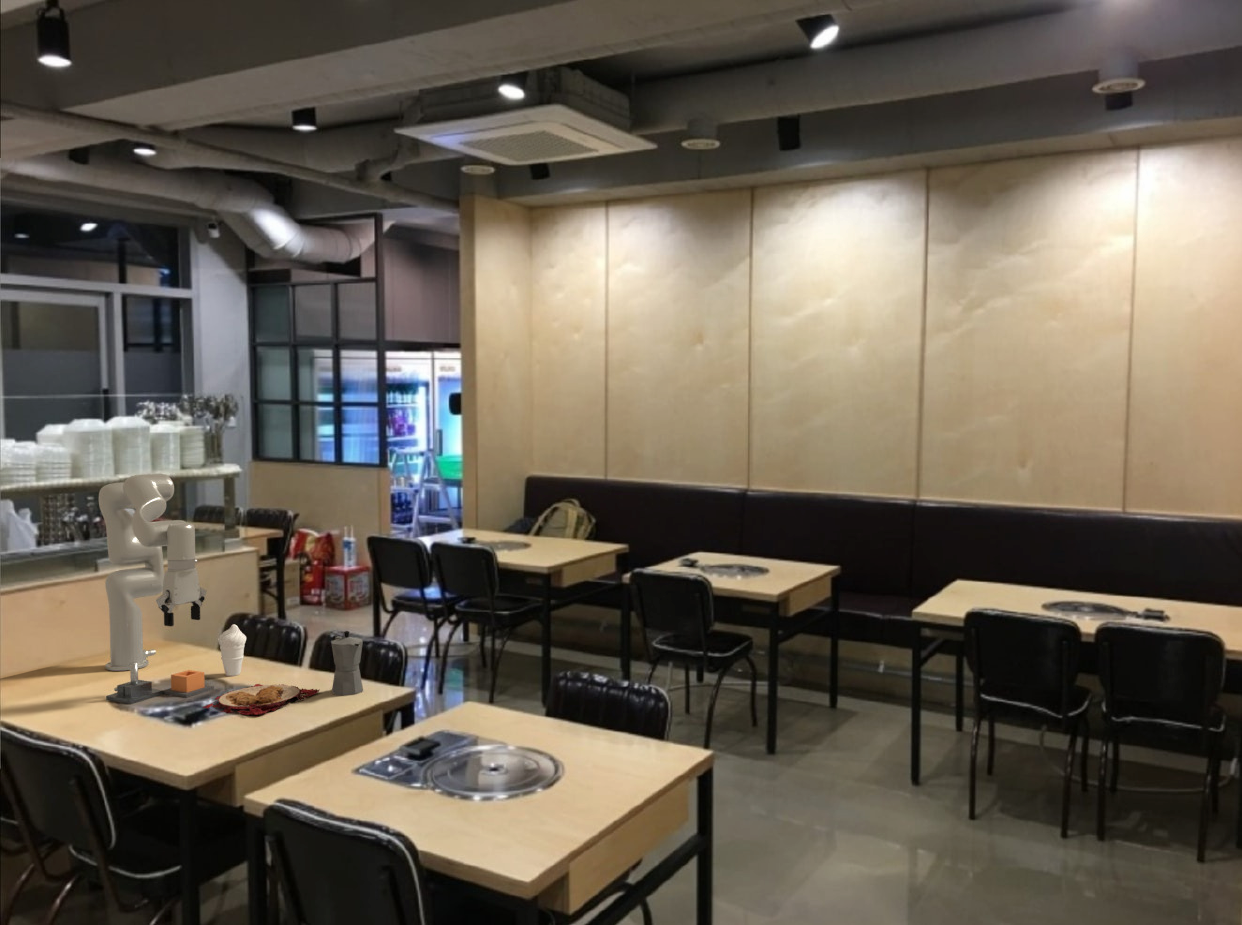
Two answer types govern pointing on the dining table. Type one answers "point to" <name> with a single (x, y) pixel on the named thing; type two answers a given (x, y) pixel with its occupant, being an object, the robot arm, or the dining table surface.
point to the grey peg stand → (134, 689)
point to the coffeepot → (347, 665)
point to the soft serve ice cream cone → (232, 650)
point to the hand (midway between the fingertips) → (182, 622)
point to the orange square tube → (187, 681)
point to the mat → (187, 694)
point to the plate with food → (260, 698)
